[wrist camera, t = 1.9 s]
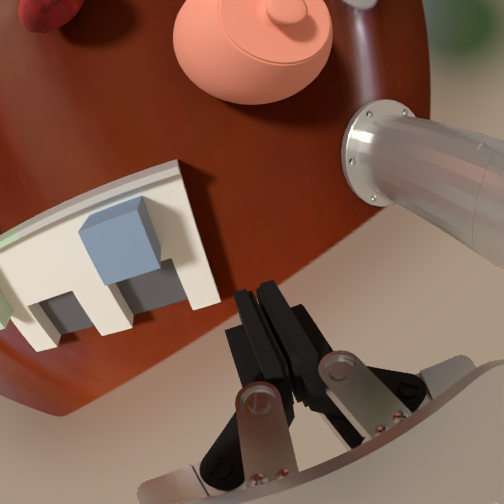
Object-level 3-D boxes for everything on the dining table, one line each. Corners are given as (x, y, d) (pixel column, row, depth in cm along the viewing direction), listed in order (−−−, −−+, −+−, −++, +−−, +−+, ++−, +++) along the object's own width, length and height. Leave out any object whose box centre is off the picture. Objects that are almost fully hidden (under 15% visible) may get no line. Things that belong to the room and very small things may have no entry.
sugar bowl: (186, 117, 21) (193, 119, 13) (162, -16, 14) (162, -75, 5) (315, 98, 23) (387, 100, 14) (293, -23, 16) (349, -65, 7)
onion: (99, -18, 12) (78, -56, 5) (89, 31, 14) (58, 3, 8) (44, -2, 10) (10, -28, 3) (34, 47, 13) (-9, 32, 6)
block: (142, 195, 21) (137, 209, 18) (161, 247, 23) (160, 268, 21) (89, 214, 20) (77, 232, 17) (111, 263, 23) (105, 285, 20)
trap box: (177, 159, 23) (178, 171, 18) (216, 287, 30) (226, 321, 25) (-17, 245, 19) (-40, 271, 15) (41, 338, 27) (30, 369, 22)
